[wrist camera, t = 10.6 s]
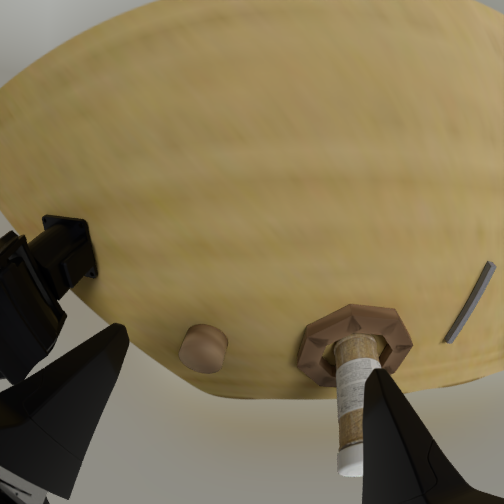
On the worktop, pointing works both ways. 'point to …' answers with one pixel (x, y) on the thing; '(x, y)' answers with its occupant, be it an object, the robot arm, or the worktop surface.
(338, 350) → the sprinkles bottle
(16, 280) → the robot arm
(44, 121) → the worktop surface
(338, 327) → the walnut ring
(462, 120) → the worktop surface
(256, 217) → the worktop surface
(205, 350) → the small wooden bead
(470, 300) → the grey rectangular bar
